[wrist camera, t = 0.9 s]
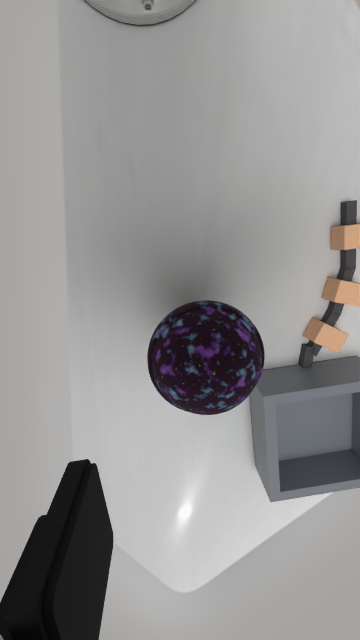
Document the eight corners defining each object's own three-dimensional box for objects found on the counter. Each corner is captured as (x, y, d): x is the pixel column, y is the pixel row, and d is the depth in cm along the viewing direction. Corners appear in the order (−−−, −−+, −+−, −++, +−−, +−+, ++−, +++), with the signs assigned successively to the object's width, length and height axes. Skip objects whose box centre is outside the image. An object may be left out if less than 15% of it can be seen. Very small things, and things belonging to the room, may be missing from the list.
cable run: (337, 199, 28) (352, 196, 26) (376, 205, 28) (394, 203, 26) (295, 363, 32) (305, 372, 30) (330, 367, 32) (342, 376, 30)
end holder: (247, 372, 32) (263, 396, 27) (356, 355, 32) (391, 376, 27) (255, 465, 35) (270, 502, 30) (354, 449, 35) (385, 483, 30)
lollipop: (224, 276, 29) (290, 315, 14) (221, 345, 31) (276, 441, 16) (151, 276, 28) (143, 315, 14) (152, 346, 30) (146, 445, 16)
